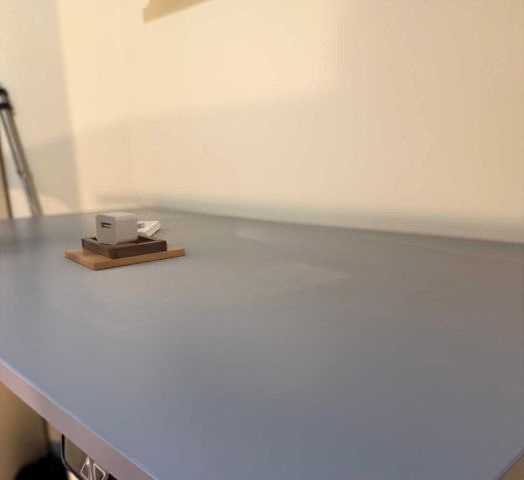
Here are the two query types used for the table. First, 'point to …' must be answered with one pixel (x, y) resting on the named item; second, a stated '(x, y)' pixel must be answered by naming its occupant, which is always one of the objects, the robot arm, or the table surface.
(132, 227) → the usb wall charger
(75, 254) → the wooden tray
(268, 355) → the table surface
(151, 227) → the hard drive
